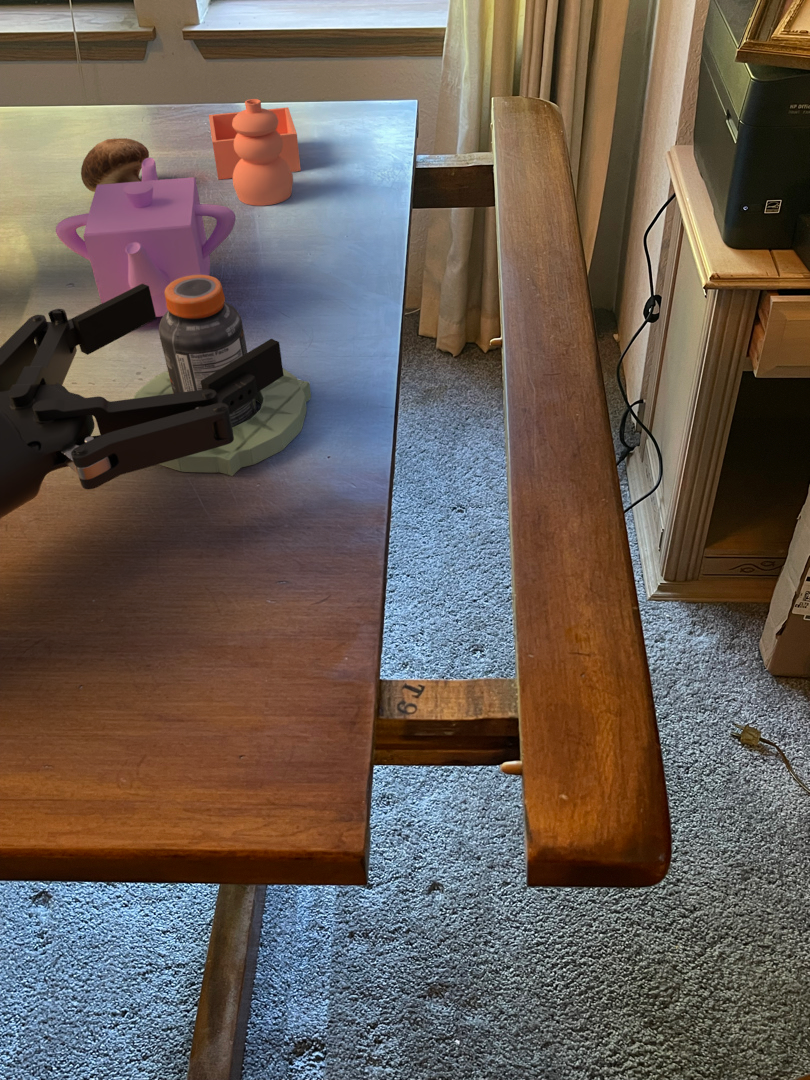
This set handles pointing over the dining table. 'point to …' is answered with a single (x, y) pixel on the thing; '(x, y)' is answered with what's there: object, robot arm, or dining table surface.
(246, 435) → the hole board
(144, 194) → the teapot
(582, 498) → the dining table surface
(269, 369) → the robot arm
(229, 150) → the pottery
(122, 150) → the mushroom
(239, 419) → the pill bottle
